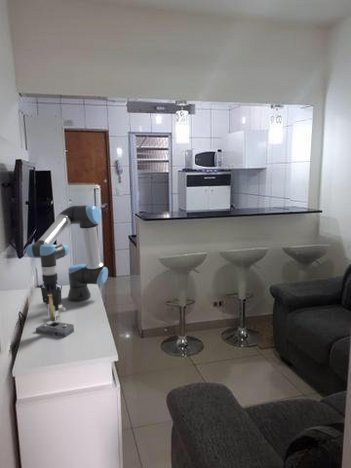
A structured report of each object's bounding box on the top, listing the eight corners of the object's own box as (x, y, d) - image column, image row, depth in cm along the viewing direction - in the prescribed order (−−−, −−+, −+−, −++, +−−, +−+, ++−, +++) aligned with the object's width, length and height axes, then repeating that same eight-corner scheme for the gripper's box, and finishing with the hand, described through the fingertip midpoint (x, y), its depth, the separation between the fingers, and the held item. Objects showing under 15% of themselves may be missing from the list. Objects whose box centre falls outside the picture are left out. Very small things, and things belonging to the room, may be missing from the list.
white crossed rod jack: (61, 320, 208) (59, 304, 206) (45, 319, 210) (44, 303, 208) (69, 314, 218) (68, 298, 216) (54, 313, 220) (53, 297, 218)
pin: (53, 318, 195) (51, 292, 192) (59, 319, 193) (56, 292, 191) (48, 321, 191) (45, 294, 189) (54, 322, 189) (51, 295, 187)
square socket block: (45, 326, 200) (44, 318, 200) (74, 331, 193) (73, 323, 192) (36, 331, 194) (35, 323, 193) (65, 337, 186) (64, 328, 185)
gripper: (32, 274, 188) (36, 316, 191) (56, 276, 181) (60, 320, 185) (43, 270, 194) (46, 311, 198) (66, 272, 188) (70, 315, 192)
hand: (53, 315), depth 192 cm, fingers closed on pin, 3 cm apart
